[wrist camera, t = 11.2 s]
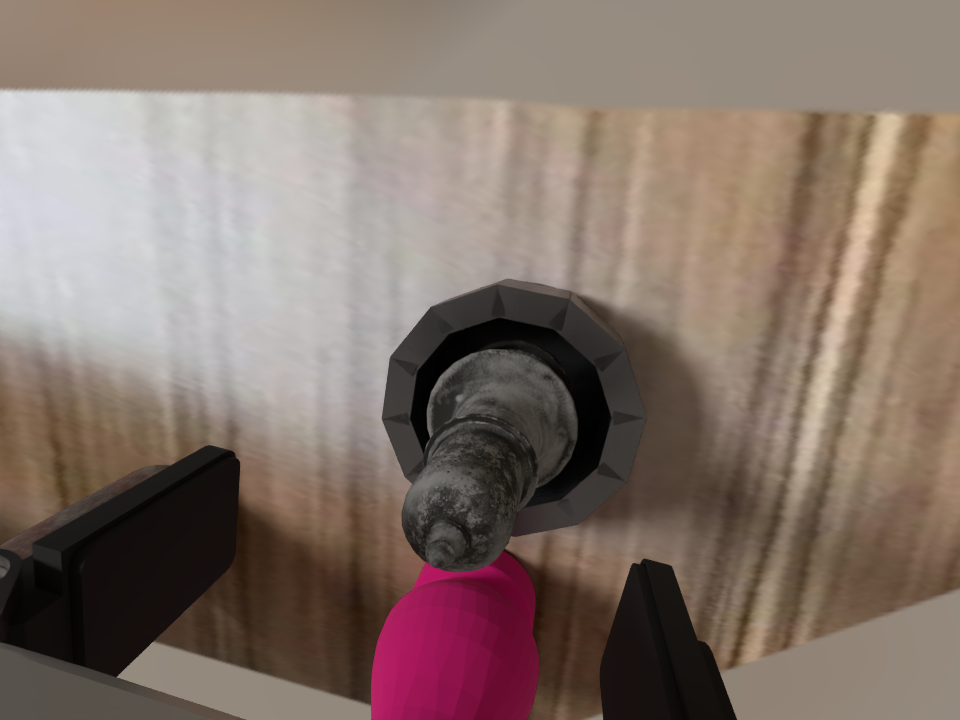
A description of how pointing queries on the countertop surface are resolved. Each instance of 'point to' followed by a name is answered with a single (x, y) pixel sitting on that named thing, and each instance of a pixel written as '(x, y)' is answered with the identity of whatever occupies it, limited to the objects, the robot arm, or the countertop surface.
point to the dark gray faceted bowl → (585, 359)
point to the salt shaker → (488, 452)
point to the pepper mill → (459, 647)
